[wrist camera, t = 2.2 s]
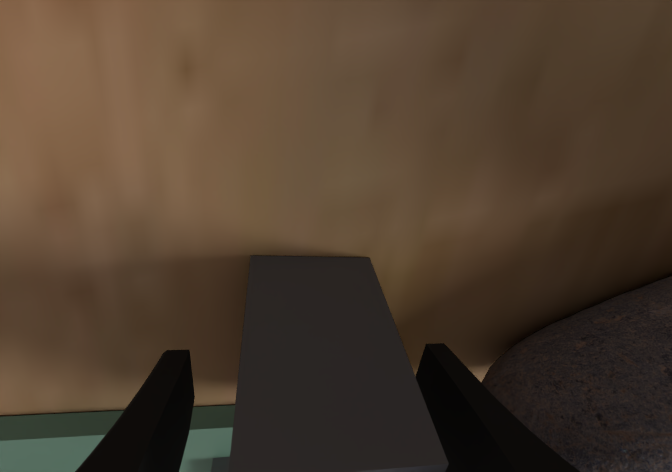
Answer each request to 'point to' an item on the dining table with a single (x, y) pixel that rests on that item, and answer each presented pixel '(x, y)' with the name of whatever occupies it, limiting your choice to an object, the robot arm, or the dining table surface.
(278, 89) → the dining table surface
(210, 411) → the board
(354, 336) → the plug
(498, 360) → the perforated stone tool
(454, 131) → the dining table surface
